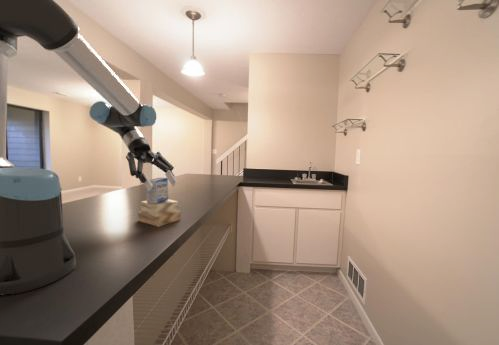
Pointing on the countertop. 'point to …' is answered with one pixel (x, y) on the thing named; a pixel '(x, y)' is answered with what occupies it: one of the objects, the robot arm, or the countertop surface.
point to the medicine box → (157, 191)
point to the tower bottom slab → (158, 218)
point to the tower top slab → (160, 208)
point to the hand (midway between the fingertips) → (163, 186)
